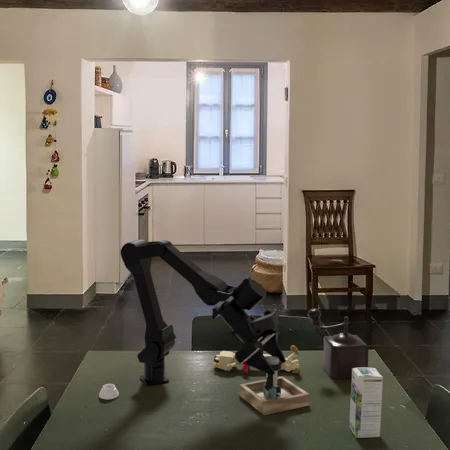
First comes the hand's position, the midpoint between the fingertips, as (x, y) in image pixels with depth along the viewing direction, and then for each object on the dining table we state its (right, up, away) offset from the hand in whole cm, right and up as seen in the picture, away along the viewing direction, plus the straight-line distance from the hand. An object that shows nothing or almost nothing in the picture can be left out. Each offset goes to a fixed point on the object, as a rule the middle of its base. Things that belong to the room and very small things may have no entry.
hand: (279, 368), depth 157 cm
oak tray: (-1, -9, +2) cm, 9 cm away
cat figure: (-5, -6, +23) cm, 25 cm away
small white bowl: (-44, -9, +4) cm, 45 cm away
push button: (-2, -8, +2) cm, 8 cm away
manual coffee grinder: (+18, -6, +21) cm, 28 cm away
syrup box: (+18, -11, -15) cm, 26 cm away
